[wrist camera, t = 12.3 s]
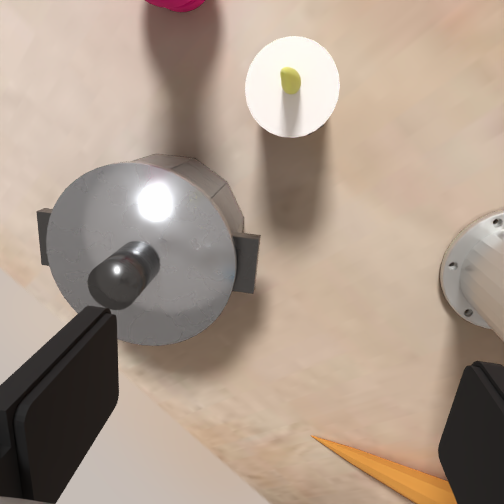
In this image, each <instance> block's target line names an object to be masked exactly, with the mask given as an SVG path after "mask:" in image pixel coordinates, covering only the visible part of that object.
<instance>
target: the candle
mask: <svg viewBox="0 0 504 504" xmlns="http://www.w3.org/2000/svg"><path fill="white" fill-rule="evenodd" d="M339 88H340V83H339V74H338V70H337V68H336V65H335V62H334V60H333V58H332V57H331V56H330V54H329V53H328V52H327V50H326V49H325V48H323V47H322V46H321V45H320V44H318V43H317V42H316V41H313V40H310V39H308V38H305V37H298V36H288V37H284V38H280V39H277V40H275V41H273V42H272V43H270V44H268V45H266V46H265V47H264V48H263V49H262V50H261V51H260V52H259V53H258V54H257V55H256V57H255V58H254V60H253V62H252V63H251V65H250V67H249V70H248V74H247V77H246V85H245V95H246V100H247V105H248V107H249V110H250V112H251V114H252V116H253V117H254V119H255V120H256V121H257V122H258V124H259V125H260V126H261V127H263V128H264V129H265V130H267V131H268V132H270V133H272V134H275V135H277V136H280V137H288V138H295V137H300V136H305V135H307V134H308V135H309V134H311V133H313V132H314V131H316V130H317V129H319V128H321V127H322V126H324V123H325V122H326V121H327V119H328V118H329V116H330V115H331V114H332V112H333V110H334V108H335V105H336V103H337V100H338V95H339Z"/></svg>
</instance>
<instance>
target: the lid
mask: <svg viewBox="0 0 504 504" xmlns="http://www.w3.org/2000/svg"><path fill="white" fill-rule="evenodd" d="M46 248H47V256H48V262H49V266H50V269H51V272H52V275H53V277H54V280H55V282H56V284H57V286H58V288H59V290H60V291H61V293H62V295H63V296H64V298H65V299H66V300H67V302H68V303H69V304H70V305H71V307H72V308H73V309H74V310H75V311H76V312H77V313H80V312H81V311H82V310H83V309H84V308H85V307H86V306H96V307H103V308H109V309H110V311H111V314H115V315H116V317H117V339H119V340H122V341H125V342H129V343H133V344H139V345H149V346H159V345H169V344H174V343H178V342H181V341H184V340H187V339H189V338H191V337H193V336H195V335H197V334H199V333H200V332H202V331H203V330H205V329H206V328H207V327H208V326H209V325H211V324H212V323H213V322H214V321H215V320H216V318H217V317H218V316H219V315H220V314H221V312H222V310H223V309H224V307H225V306H226V304H227V301H228V299H229V297H230V294H231V292H232V289H233V286H234V282H235V278H236V270H237V254H236V248H235V242H234V239H233V235H232V232H231V229H230V227H229V225H228V223H227V220H226V218H225V217H224V215H223V213H222V212H221V210H220V209H219V207H218V206H217V205H216V203H215V202H214V201H213V200H212V198H211V197H210V196H209V195H208V194H207V193H206V192H205V191H204V190H203V189H202V188H201V187H199V186H198V185H197V184H195V183H194V182H193V181H192V180H190V179H189V178H187V177H185V176H183V175H182V174H180V173H178V172H176V171H174V170H171V169H169V168H167V167H164V166H160V165H156V164H153V163H146V162H120V163H113V164H110V165H106V166H103V167H99V168H96V169H94V170H92V171H90V172H87V173H85V174H84V175H82V176H81V177H79V178H78V179H76V180H75V181H74V182H73V183H72V184H70V185H69V186H68V187H67V188H66V189H65V191H64V192H63V193H62V194H61V196H60V197H59V199H58V200H57V202H56V204H55V206H54V207H53V210H52V213H51V215H50V218H49V222H48V227H47V236H46Z"/></svg>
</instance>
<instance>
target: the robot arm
mask: <svg viewBox="0 0 504 504" xmlns="http://www.w3.org/2000/svg"><path fill="white" fill-rule="evenodd" d="M495 219H496V221H495V222H494V223H493V221H494V220H495ZM452 262H453V263H452ZM450 263H452V264H451V265H449V264H450ZM440 281H441V288H442V291H443V294H444V296H445V298H446V300H447V301H448V303H449V304H450V306H451V307H452V308H453V309H454V311H455V312H456V313H457V314H458V315H459V316H461V317H462V318H463V319H464V320H466V321H468V322H470V323H472V324H474V325H477V326H480V327H483V328H487V329H492V330H493V331H494V332H495V333H496V334H497V335H498V337H499V338H500V339H501V340H502V341H503V342H504V210H500V211H496V212H493V213H490V214H488V215H485V216H483V217H481V218H479V219H477V220H476V221H474V222H473V223H471V224H469V225H468V226H467V227H466V228H465V229H463V230H462V231H461V232H460V233H459V234H458V235H457V236H456V238H455V239H454V240H453V241H452V242H451V244H450V246H449V247H448V249H447V251H446V253H445V255H444V258H443V261H442V264H441V271H440ZM118 396H119V383H118V344H117V317H116V315H115V314H111V311H110V309H109V308H103V307H96V306H86V307H85V308H84V309H83V310H82V311H81V312H80V313H78V314H77V315H76V316H75V317H74V318H73V319H72V320H71V321H70V322H69V323H68V324H67V325H65V326H64V327H63V328H62V329H61V330H60V331H59V332H58V333H57V334H56V335H55V336H53V337H52V338H51V339H50V340H49V341H48V342H47V343H46V344H45V345H44V346H43V347H42V348H41V349H40V350H38V351H37V352H36V353H35V354H34V355H33V356H32V357H31V358H30V359H29V360H27V361H26V362H25V363H24V364H23V365H22V366H21V367H20V368H19V369H18V370H17V371H15V372H14V374H12V375H11V376H10V377H9V378H8V379H7V380H6V381H5V382H4V383H3V384H1V385H0V504H55V503H56V502H57V500H58V499H59V497H60V495H61V494H62V492H63V491H64V489H65V488H66V486H67V484H68V482H69V481H70V479H71V478H72V476H73V475H74V473H75V471H76V470H77V468H78V467H79V465H80V463H81V462H82V460H83V458H84V457H85V455H86V454H87V452H88V450H89V449H90V447H91V446H92V444H93V442H94V441H95V439H96V437H97V436H98V434H99V432H100V431H101V429H102V428H103V426H104V425H105V423H106V421H107V419H108V418H109V416H110V415H111V413H112V412H113V410H114V408H115V406H116V404H117V401H118ZM438 454H439V459H440V462H441V465H442V467H443V470H444V472H445V475H446V477H447V479H448V482H449V484H450V487H451V489H452V492H453V494H454V497H455V499H456V502H457V504H504V367H503V366H502V365H500V364H494V363H487V362H480V361H476V362H474V363H473V364H472V366H467V367H466V368H465V370H464V372H463V375H462V378H461V381H460V384H459V387H458V390H457V393H456V396H455V399H454V402H453V405H452V408H451V410H450V413H449V416H448V419H447V422H446V425H445V428H444V431H443V434H442V437H441V440H440V443H439V448H438Z"/></svg>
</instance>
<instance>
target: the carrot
mask: <svg viewBox="0 0 504 504" xmlns="http://www.w3.org/2000/svg"><path fill="white" fill-rule="evenodd" d="M310 436H311V435H310ZM312 437H313V438H315V439H316V440H318V441H319V442H320V443H322V444H323V445H325V446H326V447H328V448H329V449H331V450H332V451H334V452H335V453H336V454H338V455H339V456H341V457H342V458H344V459H345V460H347V461H348V462H349V463H351V464H353V465H354V466H356V467H357V468H359V469H361V470H362V471H364V472H365V473H367V474H369V475H370V476H372V477H374V478H375V479H377V480H378V481H380V482H382V483H383V484H385V485H386V486H388V487H390V488H391V489H393V490H394V491H396V492H398V493H399V494H401V495H403V496H404V497H406V498H407V499H409V500H411V501H412V502H414V503H415V504H457V502H456V499H455V497H454V494H453V492H452V489H451V487H450V484H449V482H448V481H446V480H443V479H440V478H437V477H434V476H431V475H429V474H426V473H423V472H420V471H417V470H414V469H412V468H409V467H406V466H403V465H400V464H397V463H395V462H392V461H389V460H386V459H383V458H380V457H378V456H375V455H372V454H369V453H366V452H363V451H361V450H358V449H355V448H352V447H348V446H345V445H341V444H338V443H335V442H331V441H328V440H325V439H321V438H318V437H314V436H312Z"/></svg>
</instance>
